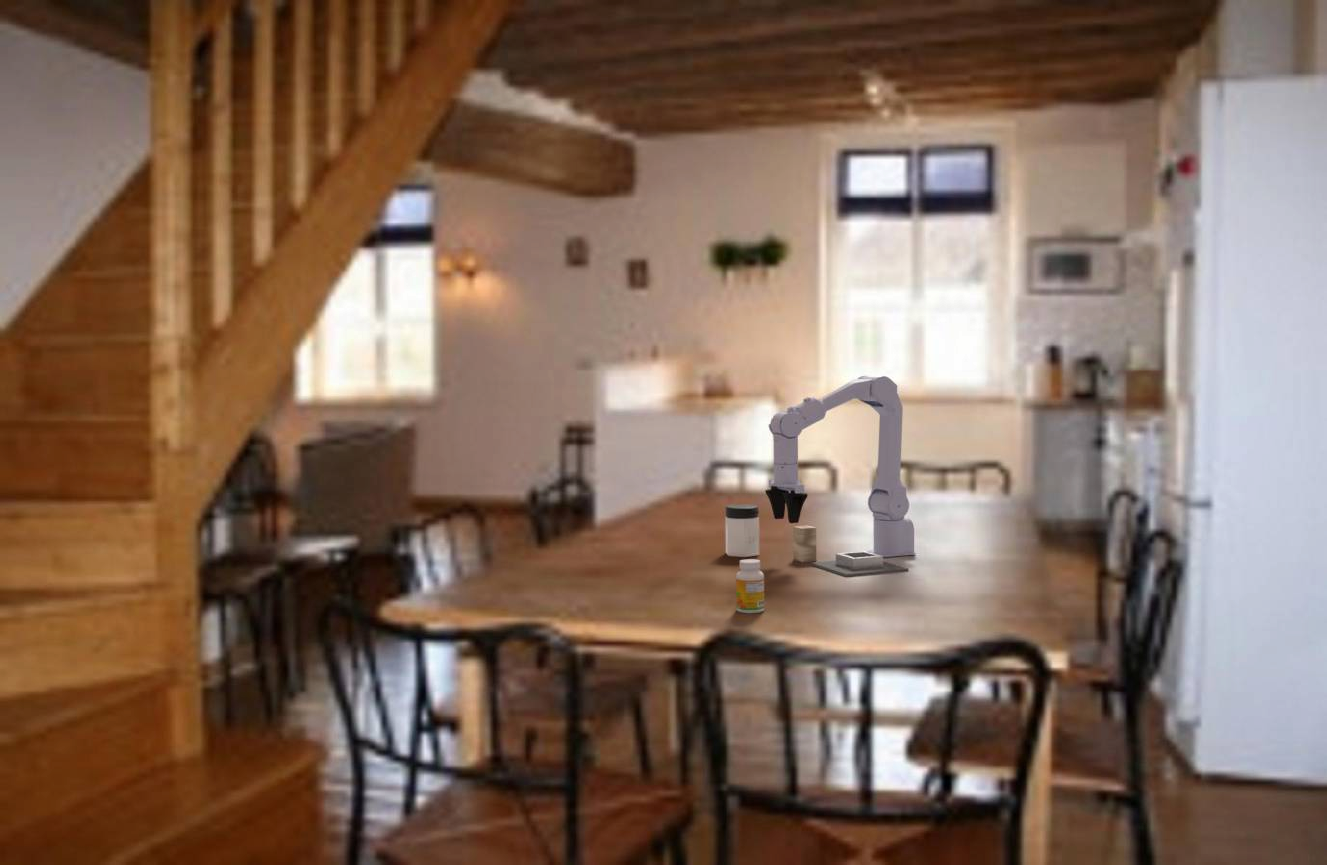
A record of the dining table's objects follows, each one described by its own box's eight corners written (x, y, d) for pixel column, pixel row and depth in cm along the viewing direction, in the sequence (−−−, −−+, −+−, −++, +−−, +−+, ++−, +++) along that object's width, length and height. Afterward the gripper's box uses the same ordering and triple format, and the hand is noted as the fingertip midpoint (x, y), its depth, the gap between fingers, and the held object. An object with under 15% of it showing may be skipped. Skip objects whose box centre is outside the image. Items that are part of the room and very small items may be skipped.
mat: (871, 560, 278) (870, 557, 278) (908, 571, 263) (908, 568, 263) (811, 565, 273) (811, 562, 272) (846, 576, 258) (846, 574, 258)
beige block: (808, 558, 282) (808, 525, 282) (816, 560, 279) (816, 527, 278) (793, 559, 281) (793, 526, 280) (801, 562, 277) (801, 528, 277)
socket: (865, 561, 273) (865, 550, 273) (882, 566, 266) (882, 556, 266) (835, 564, 270) (835, 553, 270) (853, 569, 263) (853, 558, 263)
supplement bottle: (734, 608, 227) (733, 558, 227) (761, 607, 228) (761, 557, 227) (738, 614, 222) (738, 563, 221) (766, 613, 222) (766, 562, 222)
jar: (738, 558, 283) (737, 509, 283) (718, 553, 290) (717, 506, 289) (766, 554, 288) (766, 506, 287) (746, 550, 295) (746, 503, 294)
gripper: (757, 461, 280) (757, 518, 280) (784, 466, 266) (785, 525, 267) (783, 460, 282) (784, 516, 283) (812, 465, 269) (812, 523, 269)
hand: (786, 520), depth 275 cm, fingers open, 7 cm apart
